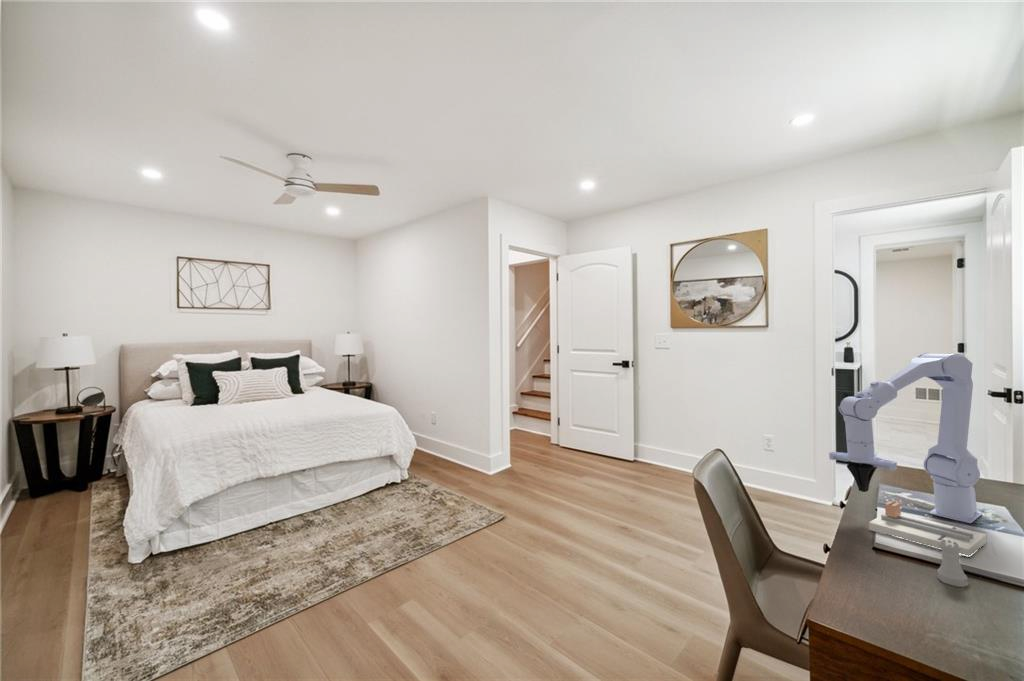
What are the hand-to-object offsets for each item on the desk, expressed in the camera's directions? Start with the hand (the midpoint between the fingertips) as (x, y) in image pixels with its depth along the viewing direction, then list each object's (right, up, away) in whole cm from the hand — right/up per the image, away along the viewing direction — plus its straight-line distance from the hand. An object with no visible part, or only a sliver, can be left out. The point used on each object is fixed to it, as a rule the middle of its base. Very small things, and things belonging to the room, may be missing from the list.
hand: (863, 490), depth 114 cm
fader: (+3, -5, -5) cm, 8 cm away
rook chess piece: (-6, -8, -29) cm, 31 cm away
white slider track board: (+6, -8, -11) cm, 14 cm away
